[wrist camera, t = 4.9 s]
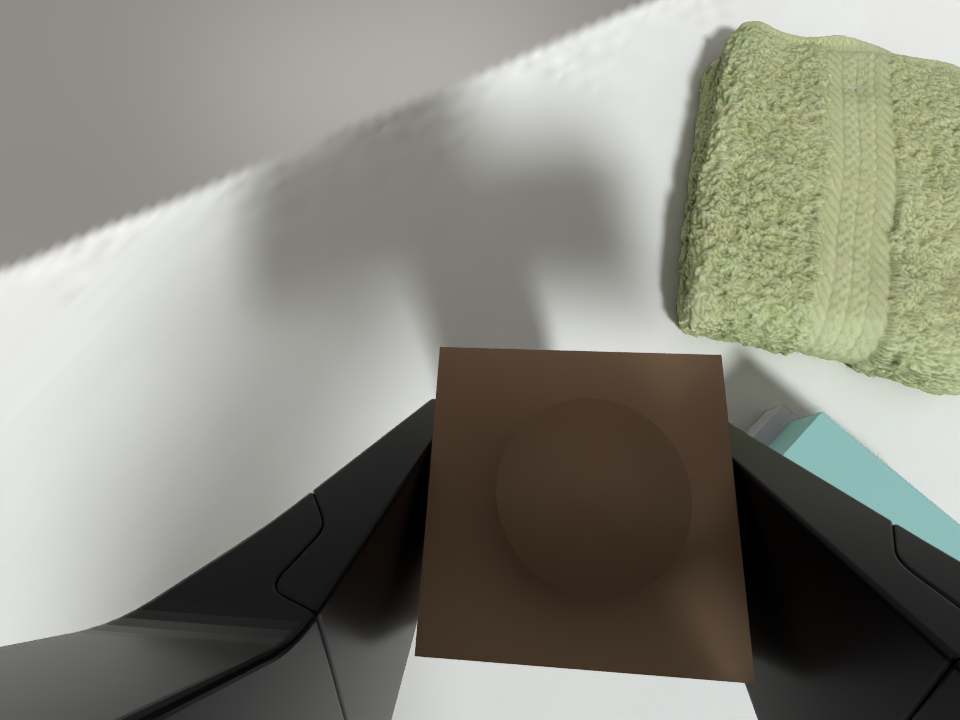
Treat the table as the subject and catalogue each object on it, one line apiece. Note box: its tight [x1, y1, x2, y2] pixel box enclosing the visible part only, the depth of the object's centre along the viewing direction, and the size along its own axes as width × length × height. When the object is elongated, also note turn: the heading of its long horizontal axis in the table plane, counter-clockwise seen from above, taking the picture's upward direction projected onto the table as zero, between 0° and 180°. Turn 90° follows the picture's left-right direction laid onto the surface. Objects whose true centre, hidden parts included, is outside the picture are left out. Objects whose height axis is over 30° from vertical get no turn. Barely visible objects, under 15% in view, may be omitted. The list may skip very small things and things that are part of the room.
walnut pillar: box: [415, 347, 755, 684], centre depth 10 cm, size 4×4×10 cm
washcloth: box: [676, 21, 960, 395], centre depth 22 cm, size 13×18×3 cm
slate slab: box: [746, 404, 800, 446], centre depth 18 cm, size 8×8×2 cm
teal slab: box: [768, 412, 960, 561], centre depth 16 cm, size 7×7×2 cm
